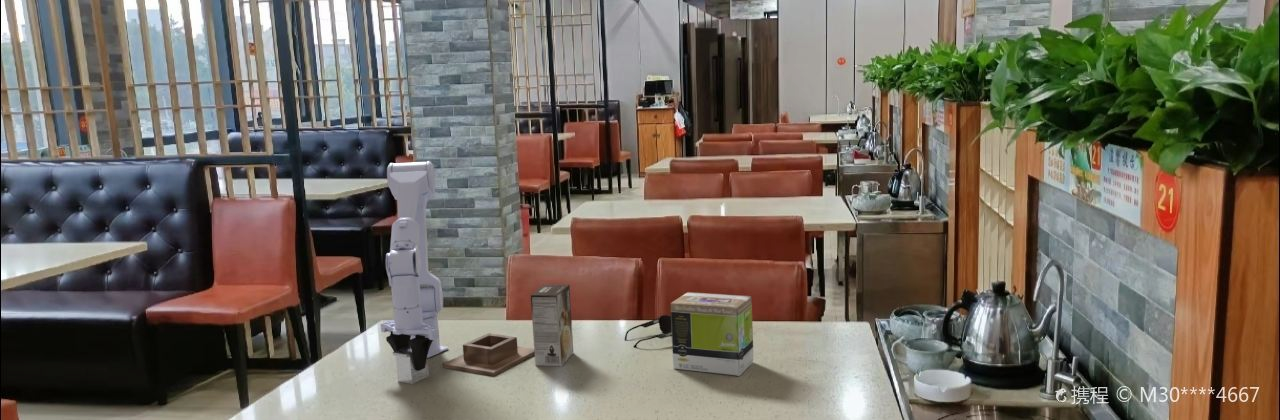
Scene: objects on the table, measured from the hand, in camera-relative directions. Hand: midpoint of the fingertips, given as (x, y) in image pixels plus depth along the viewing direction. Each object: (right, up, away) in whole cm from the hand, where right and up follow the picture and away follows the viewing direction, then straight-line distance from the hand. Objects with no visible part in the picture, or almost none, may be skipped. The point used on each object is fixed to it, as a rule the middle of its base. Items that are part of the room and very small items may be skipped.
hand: (412, 367), depth 183 cm
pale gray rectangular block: (0, -2, 0) cm, 2 cm away
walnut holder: (+15, 0, +10) cm, 18 cm away
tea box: (+64, 0, +1) cm, 64 cm away
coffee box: (+29, 0, +9) cm, 31 cm away
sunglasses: (+51, +2, +20) cm, 55 cm away
